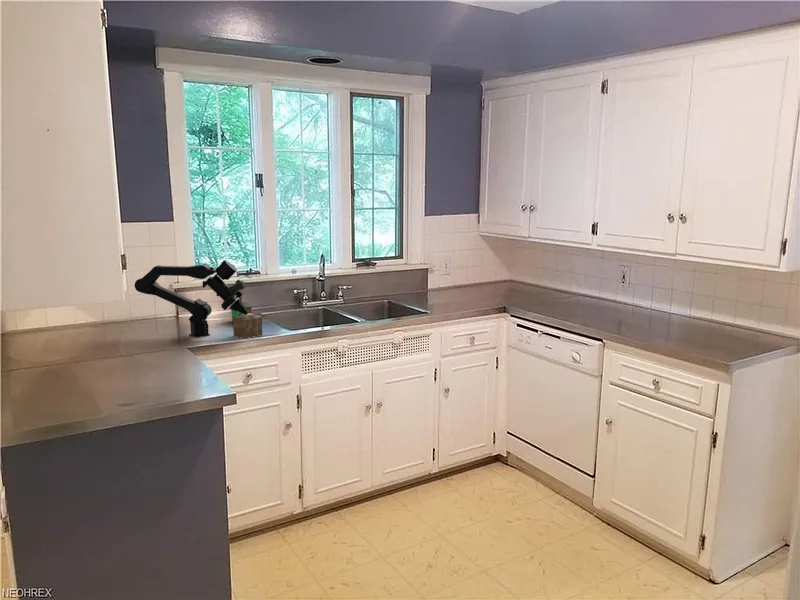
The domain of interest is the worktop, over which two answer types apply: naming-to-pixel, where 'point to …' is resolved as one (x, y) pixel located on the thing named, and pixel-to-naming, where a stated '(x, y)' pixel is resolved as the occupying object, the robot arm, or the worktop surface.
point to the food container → (236, 313)
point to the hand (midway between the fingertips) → (247, 313)
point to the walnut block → (247, 326)
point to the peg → (247, 315)
